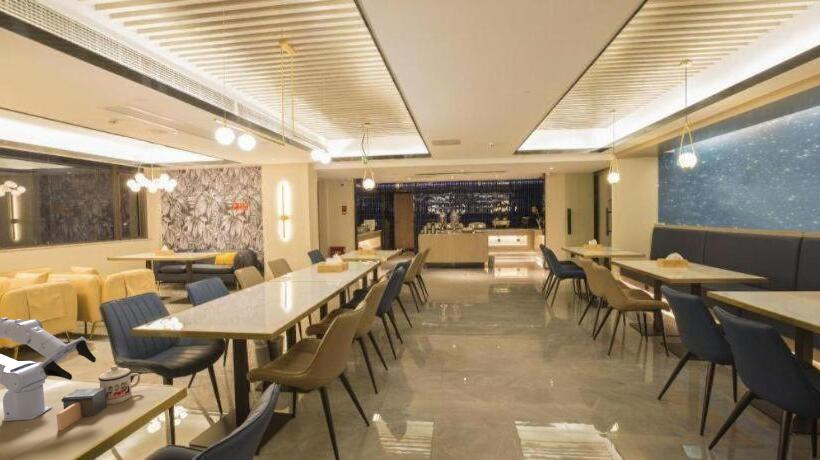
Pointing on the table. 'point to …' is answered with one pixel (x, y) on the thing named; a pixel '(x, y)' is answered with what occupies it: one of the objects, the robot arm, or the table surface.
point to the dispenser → (87, 400)
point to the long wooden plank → (69, 415)
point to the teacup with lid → (117, 384)
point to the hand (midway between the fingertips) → (83, 368)
